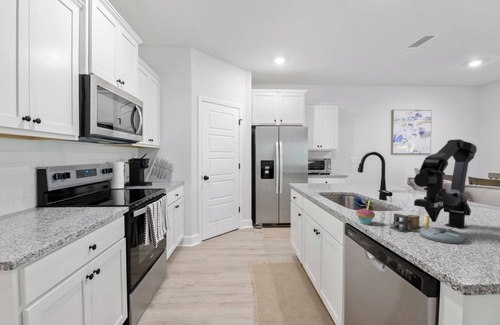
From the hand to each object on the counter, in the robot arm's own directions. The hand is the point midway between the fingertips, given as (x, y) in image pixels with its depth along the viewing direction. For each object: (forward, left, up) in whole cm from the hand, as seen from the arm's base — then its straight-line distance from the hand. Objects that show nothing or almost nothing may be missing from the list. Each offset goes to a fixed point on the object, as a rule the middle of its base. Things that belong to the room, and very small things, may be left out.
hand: (433, 221), depth 106 cm
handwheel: (+5, +5, -5) cm, 8 cm away
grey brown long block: (+6, -9, -4) cm, 12 cm away
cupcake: (+15, -23, -5) cm, 28 cm away
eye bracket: (+9, -9, -5) cm, 13 cm away
